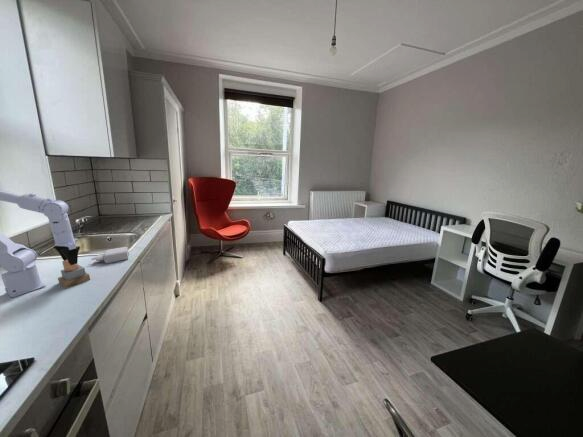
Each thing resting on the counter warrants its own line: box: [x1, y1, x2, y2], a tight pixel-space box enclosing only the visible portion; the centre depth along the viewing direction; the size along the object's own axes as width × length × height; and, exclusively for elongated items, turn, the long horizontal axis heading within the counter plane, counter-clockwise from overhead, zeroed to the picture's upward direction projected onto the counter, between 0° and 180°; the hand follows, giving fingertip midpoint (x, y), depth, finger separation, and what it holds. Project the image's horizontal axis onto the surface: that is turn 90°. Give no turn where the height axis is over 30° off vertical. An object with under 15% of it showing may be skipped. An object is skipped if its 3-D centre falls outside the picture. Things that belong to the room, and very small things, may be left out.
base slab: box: [57, 272, 91, 289], centre depth 102 cm, size 8×8×3 cm
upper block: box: [60, 264, 87, 280], centre depth 101 cm, size 6×6×3 cm
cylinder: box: [62, 260, 79, 272], centre depth 100 cm, size 4×4×4 cm
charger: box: [90, 246, 130, 264], centre depth 122 cm, size 5×9×15 cm
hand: (70, 262), depth 100 cm, fingers open, 6 cm apart
